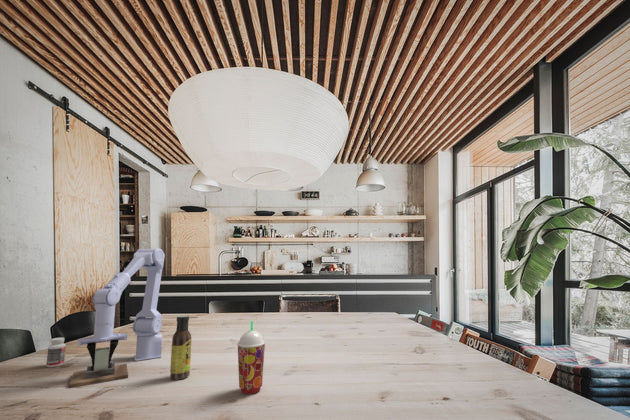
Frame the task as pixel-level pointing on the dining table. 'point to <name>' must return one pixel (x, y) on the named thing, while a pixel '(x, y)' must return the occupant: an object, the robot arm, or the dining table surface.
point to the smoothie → (251, 361)
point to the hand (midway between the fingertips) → (101, 364)
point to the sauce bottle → (181, 349)
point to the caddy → (98, 375)
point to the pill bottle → (56, 353)
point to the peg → (101, 358)
